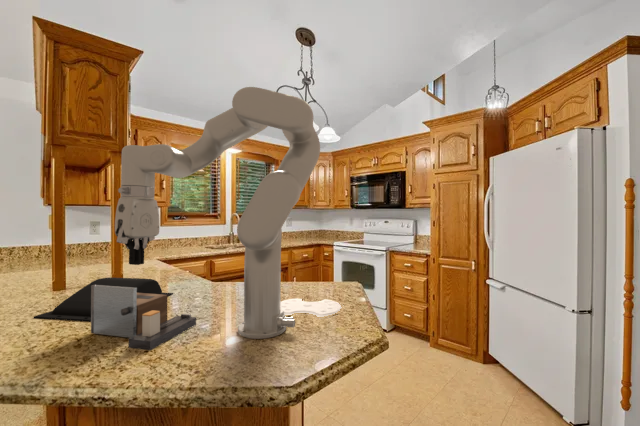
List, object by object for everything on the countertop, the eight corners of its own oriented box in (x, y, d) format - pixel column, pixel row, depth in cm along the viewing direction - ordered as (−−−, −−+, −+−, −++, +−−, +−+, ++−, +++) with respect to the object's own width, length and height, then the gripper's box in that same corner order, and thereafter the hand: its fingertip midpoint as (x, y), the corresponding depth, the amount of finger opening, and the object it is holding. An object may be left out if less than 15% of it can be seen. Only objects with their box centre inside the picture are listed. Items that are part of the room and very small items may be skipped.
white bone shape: (279, 294, 109) (347, 296, 106) (279, 299, 109) (347, 301, 106) (261, 312, 89) (344, 316, 86) (261, 318, 89) (344, 322, 86)
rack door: (136, 336, 73) (137, 287, 73) (128, 340, 71) (129, 289, 71) (94, 331, 76) (94, 284, 76) (85, 334, 74) (85, 286, 74)
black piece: (117, 293, 117) (33, 320, 87) (117, 272, 117) (33, 291, 87) (173, 296, 113) (105, 325, 83) (173, 273, 113) (105, 294, 83)
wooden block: (167, 323, 83) (167, 294, 83) (137, 337, 73) (137, 305, 73) (129, 319, 86) (129, 291, 86) (95, 332, 76) (96, 301, 76)
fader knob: (160, 331, 72) (160, 310, 72) (150, 336, 69) (150, 315, 69) (152, 330, 72) (152, 310, 72) (142, 335, 69) (142, 314, 69)
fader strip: (195, 324, 82) (195, 315, 82) (150, 350, 66) (150, 338, 66) (177, 322, 83) (177, 313, 83) (128, 347, 68) (128, 335, 68)
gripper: (124, 191, 69) (122, 270, 69) (171, 195, 83) (169, 260, 83) (99, 191, 71) (97, 268, 70) (148, 195, 85) (147, 259, 85)
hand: (136, 264), depth 77 cm, fingers closed
